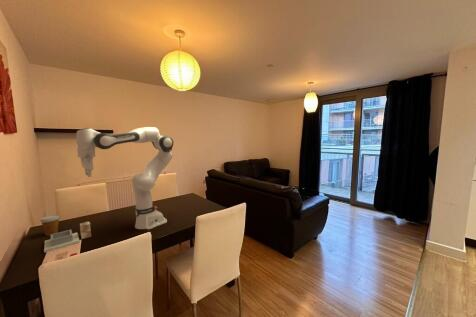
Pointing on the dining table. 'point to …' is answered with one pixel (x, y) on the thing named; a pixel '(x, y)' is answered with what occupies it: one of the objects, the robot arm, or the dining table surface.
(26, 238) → the dining table surface
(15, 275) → the dining table surface
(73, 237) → the chute mount
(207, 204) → the dining table surface
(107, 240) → the dining table surface
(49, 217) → the disposable coffee cup
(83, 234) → the chute block
